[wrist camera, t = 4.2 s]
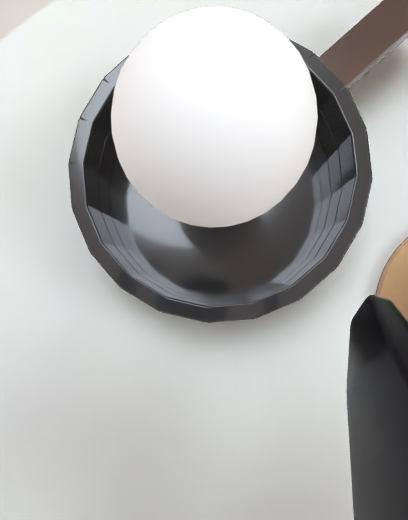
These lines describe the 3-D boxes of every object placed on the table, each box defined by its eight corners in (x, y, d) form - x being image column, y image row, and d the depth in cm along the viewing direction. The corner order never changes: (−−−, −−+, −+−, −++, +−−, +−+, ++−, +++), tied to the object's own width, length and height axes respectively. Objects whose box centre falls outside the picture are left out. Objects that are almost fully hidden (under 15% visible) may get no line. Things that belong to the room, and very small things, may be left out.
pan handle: (428, 19, 17) (443, -1, 16) (332, 103, 17) (340, 91, 16) (401, -8, 17) (415, -29, 16) (307, 76, 17) (313, 62, 16)
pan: (394, 199, 19) (437, 180, 15) (207, 363, 19) (202, 385, 15) (228, 23, 20) (230, -37, 16) (51, 181, 20) (10, 159, 16)
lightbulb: (237, 110, 19) (253, -112, 8) (299, 207, 19) (404, 111, 8) (139, 171, 19) (26, 34, 8) (198, 268, 19) (163, 260, 8)
